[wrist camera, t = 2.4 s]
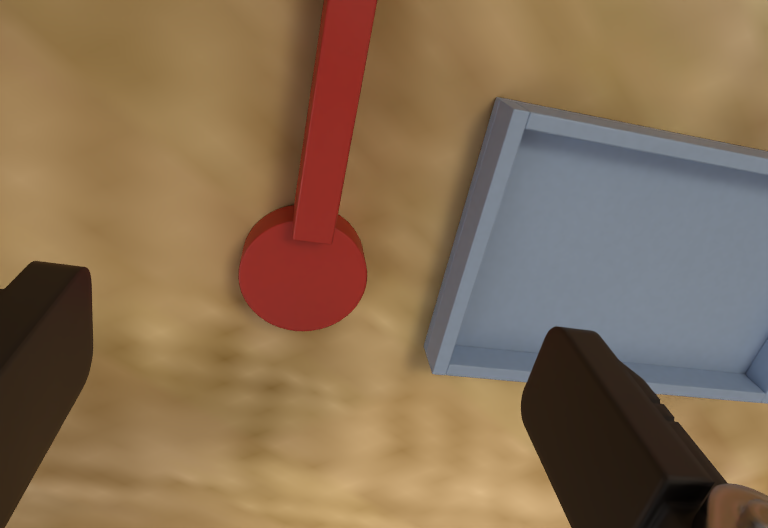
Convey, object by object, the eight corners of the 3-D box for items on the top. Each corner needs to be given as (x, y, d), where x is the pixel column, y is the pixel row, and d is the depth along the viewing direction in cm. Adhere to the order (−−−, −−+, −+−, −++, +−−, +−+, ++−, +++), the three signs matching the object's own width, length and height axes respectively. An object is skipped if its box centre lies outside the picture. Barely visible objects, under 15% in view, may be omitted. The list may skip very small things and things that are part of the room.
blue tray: (423, 346, 25) (432, 374, 23) (495, 96, 20) (514, 108, 18) (742, 377, 29) (770, 404, 27) (869, 171, 24) (914, 187, 22)
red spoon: (351, 315, 24) (356, 352, 22) (237, 303, 23) (229, 340, 21) (426, -30, 18) (444, -30, 16) (276, -67, 17) (272, -72, 15)
